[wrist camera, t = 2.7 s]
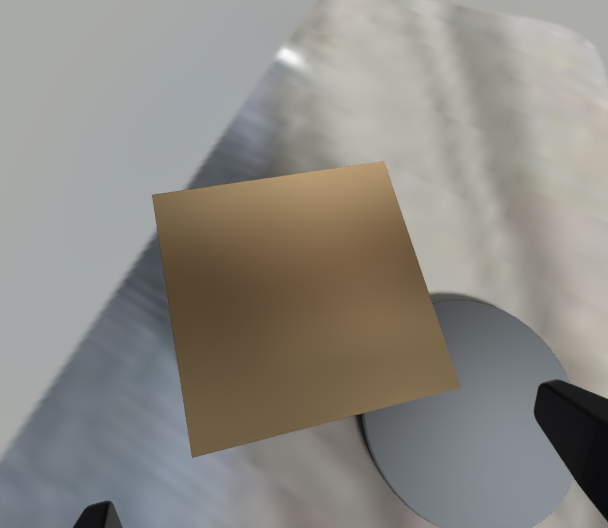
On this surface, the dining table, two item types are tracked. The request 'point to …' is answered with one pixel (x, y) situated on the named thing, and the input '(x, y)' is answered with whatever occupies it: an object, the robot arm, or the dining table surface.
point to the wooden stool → (295, 304)
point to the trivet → (476, 429)
